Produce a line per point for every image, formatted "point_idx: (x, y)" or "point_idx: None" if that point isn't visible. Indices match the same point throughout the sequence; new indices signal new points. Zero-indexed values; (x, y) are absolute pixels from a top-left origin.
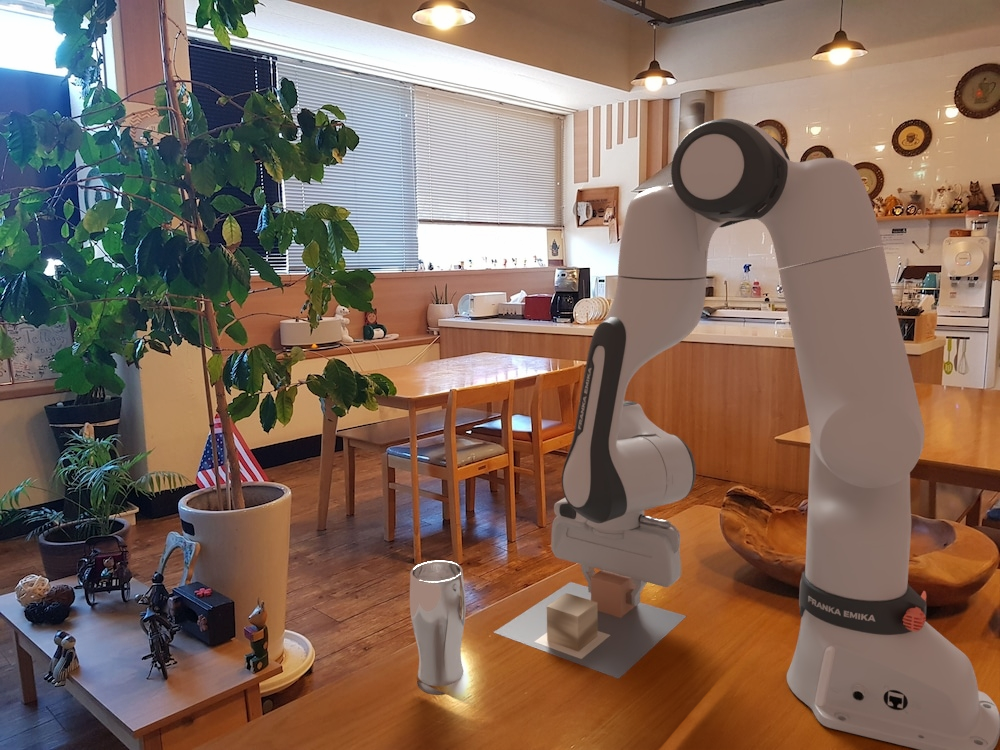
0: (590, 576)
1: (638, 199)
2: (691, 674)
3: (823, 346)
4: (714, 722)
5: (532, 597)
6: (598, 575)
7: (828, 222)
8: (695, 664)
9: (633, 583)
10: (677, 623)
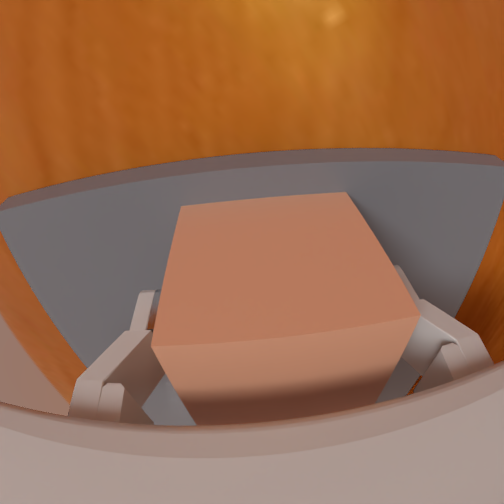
0: (148, 383)
1: None
2: (490, 318)
3: None
4: (497, 358)
5: (17, 304)
6: (219, 423)
7: None
8: (500, 295)
9: (418, 391)
10: (492, 226)
